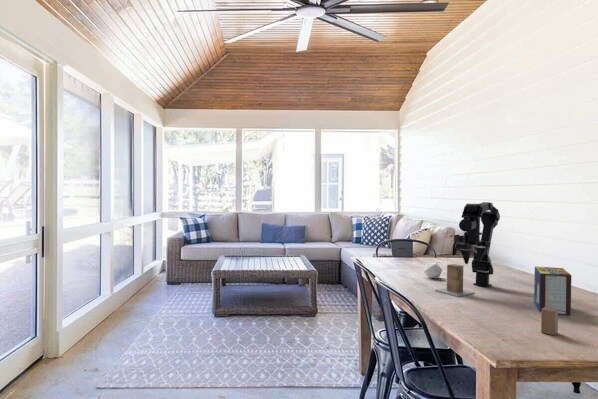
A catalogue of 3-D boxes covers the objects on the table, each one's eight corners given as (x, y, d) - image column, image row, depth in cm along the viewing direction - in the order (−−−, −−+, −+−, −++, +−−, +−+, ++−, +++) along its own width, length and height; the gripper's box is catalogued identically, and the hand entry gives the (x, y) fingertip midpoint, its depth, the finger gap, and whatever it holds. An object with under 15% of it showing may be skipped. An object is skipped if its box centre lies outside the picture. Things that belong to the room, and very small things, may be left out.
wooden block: (544, 330, 132) (544, 306, 132) (558, 333, 129) (558, 309, 129) (540, 332, 130) (541, 308, 130) (554, 336, 127) (555, 311, 127)
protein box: (562, 305, 162) (563, 267, 162) (571, 316, 148) (572, 275, 148) (533, 302, 166) (534, 265, 166) (538, 312, 152) (539, 272, 152)
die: (439, 281, 206) (447, 265, 209) (423, 272, 207) (431, 256, 210) (433, 284, 214) (441, 268, 217) (418, 275, 215) (426, 259, 218)
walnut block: (453, 289, 185) (454, 263, 185) (463, 291, 181) (463, 265, 181) (446, 290, 182) (447, 264, 182) (456, 292, 178) (456, 266, 178)
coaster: (452, 287, 190) (452, 286, 190) (474, 293, 180) (474, 292, 180) (435, 291, 184) (435, 289, 184) (457, 297, 173) (457, 295, 173)
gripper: (470, 227, 196) (469, 259, 197) (445, 229, 187) (445, 262, 187) (491, 229, 187) (490, 262, 187) (466, 231, 177) (465, 266, 177)
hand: (472, 263), depth 185 cm, fingers open, 9 cm apart
